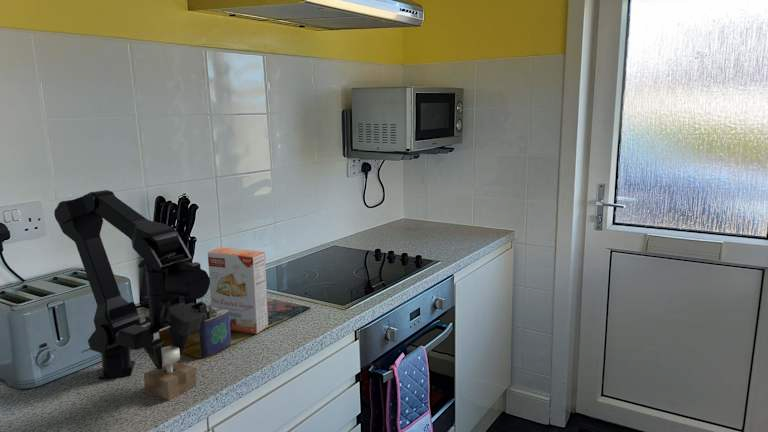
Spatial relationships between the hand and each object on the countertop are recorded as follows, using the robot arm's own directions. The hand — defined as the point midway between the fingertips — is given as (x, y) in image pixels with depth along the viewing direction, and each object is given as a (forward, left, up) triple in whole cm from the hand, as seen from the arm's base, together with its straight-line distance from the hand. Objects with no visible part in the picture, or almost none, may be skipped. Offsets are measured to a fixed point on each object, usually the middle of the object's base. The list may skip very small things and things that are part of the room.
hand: (169, 364), depth 114 cm
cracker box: (-30, +15, -6) cm, 34 cm away
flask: (-17, +9, -6) cm, 20 cm away
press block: (0, 0, -5) cm, 5 cm away
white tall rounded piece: (0, 0, -6) cm, 6 cm away
